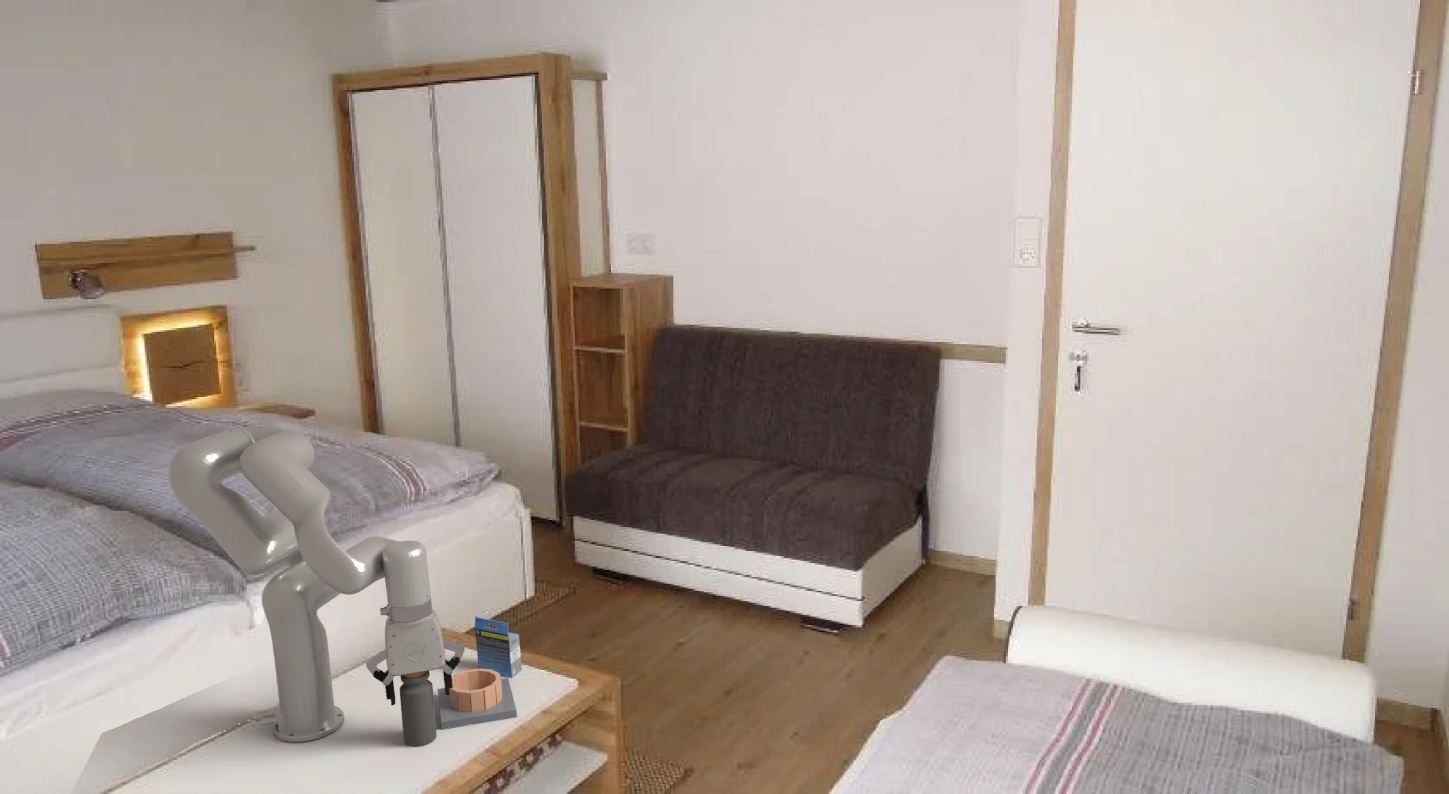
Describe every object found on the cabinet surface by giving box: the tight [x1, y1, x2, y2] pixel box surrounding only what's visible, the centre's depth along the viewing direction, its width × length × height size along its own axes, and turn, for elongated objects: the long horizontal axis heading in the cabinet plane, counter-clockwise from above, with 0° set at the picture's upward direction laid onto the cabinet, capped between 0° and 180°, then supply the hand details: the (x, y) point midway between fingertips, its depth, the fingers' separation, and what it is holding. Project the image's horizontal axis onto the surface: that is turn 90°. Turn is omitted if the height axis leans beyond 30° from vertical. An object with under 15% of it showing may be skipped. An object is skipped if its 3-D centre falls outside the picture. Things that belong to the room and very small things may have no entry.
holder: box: [437, 668, 518, 730], centre depth 206 cm, size 14×14×6 cm
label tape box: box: [474, 616, 523, 678], centre depth 220 cm, size 9×4×12 cm, turn 65°
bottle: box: [399, 671, 437, 747], centre depth 193 cm, size 6×6×15 cm
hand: (420, 697), depth 193 cm, fingers open, 9 cm apart
